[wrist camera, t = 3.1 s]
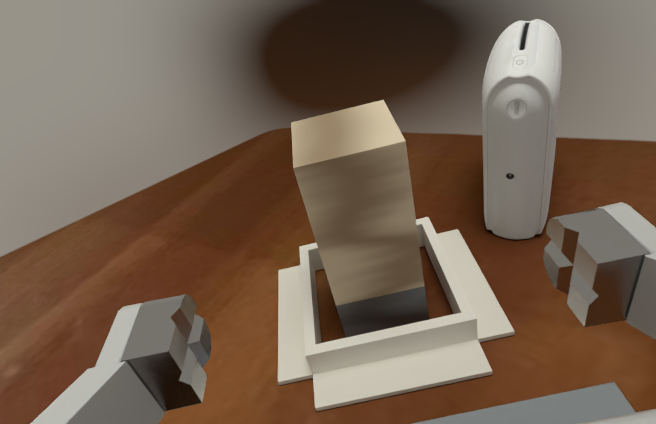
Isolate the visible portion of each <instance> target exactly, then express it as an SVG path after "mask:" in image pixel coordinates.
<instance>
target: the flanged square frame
mask: <svg viewBox="0 0 656 424" xmlns="http://www.w3.org/2000/svg"><path fill="white" fill-rule="evenodd" d="M416 225H417V232H418V240H419V247H422V246H425V248H426V250H427V253H428V255H429V257H430V260H431V262H432V264H433V267H434V269H435V271H436V274H437V276H438V278H439V281H440V283H441V285H442V288H443V290H444V292H445V295H446V297H447V299H448V302H449V304H450V307H451V309H452V311H453V314H452V315H448V316H443V317H439V318H434V319H430V320H425V321H420V322H416V323H411V324H407V325H402V326H398V327H393V328H388V329H384V330H379V331H375V332H370V333H365V334H361V335H356V336H352V337H347V338H343V339H338V340H333V341H329V342H324V343H322V342H321V331H320V321H319V310H318V299H317V288H316V278H315V271H316V270H321V269H324V266H323V262H322V259H321V256H320V253H319V249H318V246H317V243H313V244H309V245H304V246H300V247H299V249H300V265H299V266H295V267H291V268H286V269H282V270H279V300H278V383H279V385H282V384H287V383H292V382H296V381H301V380H306V379H310V378H313V384H314V399H315V409H316V411H321V410H326V409H331V408H335V407H340V406H345V405H350V404H354V403H359V402H364V401H369V400H374V399H378V398H383V397H388V396H393V395H397V394H402V393H407V392H412V391H416V390H421V389H426V388H431V387H435V386H440V385H445V384H450V383H455V382H459V381H464V380H469V379H474V378H478V377H483V376H488V375H492V370H491V367H490V365H489V363H488V361H487V359H486V356H485V354H484V352H483V350H482V348H481V345H480V343H479V342H483V341H488V340H493V339H497V338H502V337H507V336H511V335H514V330H513V328H512V326H511V324H510V322H509V321H508V319H507V317H506V315H505V313H504V312H503V310H502V308H501V306H500V304H499V303H498V301H497V299H496V297H495V295H494V294H493V292H492V290H491V288H490V286H489V284H488V283H487V281H486V279H485V277H484V275H483V274H482V272H481V270H480V268H479V266H478V265H477V263H476V261H475V259H474V257H473V256H472V254H471V252H470V250H469V248H468V246H467V245H466V243H465V241H464V239H463V237H462V236H461V234H460V232H459V230H458V229H457V230H452V231H448V232H444V233H439V234H436V232H435V230H434V228H433V226H432V224H431V222H430V220H429V217H425V218H421V219H417V220H416Z"/></svg>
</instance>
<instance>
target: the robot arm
mask: <svg viewBox="0 0 656 424" xmlns="http://www.w3.org/2000/svg"><path fill="white" fill-rule="evenodd" d="M546 233H547V235H548V236H549V237H550V238H551V241H550V242H549V244H548V245H547V246H546V247H545V248H544V264H545V268H546V272H547V274H548V276H549V279H550V281H551V282H552V283H553V285H554V286H555V288H556V289H558V290H560V291H562V292H564V293H566V294H568V301H567V304H568V306H569V307H570V308H571V310H572V311H573V312H574V314H575V315H576V317H577V318H578V319H579V321H580V322H581V323H582V325H583V326H584V327H589V326H595V325H601V324H606V323H612V322H618V321H624V320H626V323H628V324H630V325H631V326H633V327H635V328H637V329H638V330H640V331H642V332H643V333H645V334H647V335H649V336H650V337H652V338H654V339H655V340H656V228H655V227H654V226H653V225H652V224H651V223H649V222H648V221H647V220H646V219H645V218H643V217H642V216H641V215H640V214H639V213H637V212H636V211H635V210H634V209H633V208H631V207H630V206H629V205H627V204H625V203H622V202H620V203H616V204H611V205H607V206H603V207H598V208H596V209H591V210H586V211H582V212H577V213H572V214H568V215H563V216H559V217H554V218H550V220H549V222H548V223H547V230H546ZM196 306H197V305H196V304H195V302H194V300H193V299H192V297H191V296H190V295H181V296H176V297H170V298H165V299H159V300H154V301H148V302H144V303H140V304H135V305H129V306H124V307H123V308H121V309H120V310H119V311H118V313H117V315H116V318H115V320H114V322H113V325H112V327H111V330H110V332H109V334H108V337H107V339H106V342H105V344H104V346H103V349H102V351H101V354H100V356H99V358H98V361H97V363H96V365H95V367H94V368H90V369H87V370H86V371H85V372H84V373H83V374H82V375H81V376H80V377H79V378H78V379H77V380H76V381H75V382H74V383H73V384H72V385H71V386H70V387H68V388H67V389H66V390H65V391H64V392H63V393H62V394H61V395H60V396H59V397H58V398H57V399H56V400H55V401H54V402H53V403H52V404H51V405H50V406H49V407H47V408H46V409H45V410H44V411H43V412H42V413H41V414H40V415H39V416H38V417H37V418H36V419H35V420H34V421H33V422H32V423H31V424H159V422H160V421H161V419H162V418H163V416H164V415H165V412H164V411H169V410H173V409H178V408H182V407H186V406H191V405H195V404H200V403H202V401H203V396H204V390H205V384H206V378H207V375H206V374H205V372H204V370H203V369H202V368H203V366H204V365H205V364H206V363H207V361H208V360H209V359H210V353H211V338H210V333H209V329H208V326H207V324H206V322H205V320H204V319H203V318H201V317H199V316H198V315H196V314H195V311H196ZM578 424H656V409H652V410H647V411H642V412H636V413H631V414H626V415H621V416H615V417H610V418H605V419H599V420H594V421H589V422H584V423H578Z"/></svg>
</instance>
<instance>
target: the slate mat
mask: <svg viewBox="0 0 656 424" xmlns="http://www.w3.org/2000/svg"><path fill="white" fill-rule="evenodd" d="M631 413H636V412H635V411H634V409H633V408H632V407H631V405H630V404H629V402H628V401H627V399H626V398H625V397H624V395H623V394H622V392H621V391H620V390H619V388H618V387H617V385H616V384H615V382H612V383H607V384H602V385H597V386H593V387H588V388H583V389H578V390H573V391H568V392H563V393H559V394H554V395H549V396H544V397H539V398H534V399H529V400H525V401H520V402H515V403H510V404H505V405H500V406H495V407H491V408H486V409H481V410H476V411H471V412H466V413H461V414H457V415H452V416H447V417H442V418H437V419H432V420H427V421H423V422H418V423H413V424H578V423H584V422H589V421H594V420H599V419H605V418H610V417H615V416H621V415H626V414H631Z"/></svg>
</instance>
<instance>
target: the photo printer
mask: <svg viewBox="0 0 656 424" xmlns="http://www.w3.org/2000/svg"><path fill="white" fill-rule="evenodd" d="M561 65H562V54H561V44H560V40H559V37H558V35H557V33H556V31H555V30H554V28H553V27H552V26H550V25H549V24H548V23H546V22H544V21H542V20H539V19H535V20H533V21H527V22H526V21H517V22H515V23H513V24H512V25H510V26H509V27H508V28H507V29H506V30H505V31H504V32H503V33H502V34H501V35H500V37H499V38H498V40H497V41H496V43H495V44H494V47H493V49H492V51H491V54H490V57H489V60H488V63H487V66H486V71H485V75H484V81H483V88H482V116H483V174H484V218H485V224H486V228H487V229H488V230H492V232H493V233H494V234H495V235H498V236H500V237H503V238H507V239H527V238H531V237H533V236H535V234H541V232H542V230H543V228H544V225H545V223H546V219H547V215H548V209H549V202H550V193H551V184H552V175H553V166H554V157H555V145H556V131H557V118H558V104H559V92H560V81H561Z"/></svg>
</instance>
